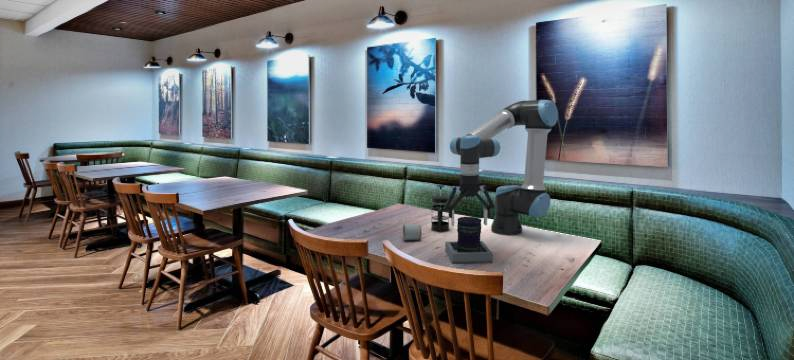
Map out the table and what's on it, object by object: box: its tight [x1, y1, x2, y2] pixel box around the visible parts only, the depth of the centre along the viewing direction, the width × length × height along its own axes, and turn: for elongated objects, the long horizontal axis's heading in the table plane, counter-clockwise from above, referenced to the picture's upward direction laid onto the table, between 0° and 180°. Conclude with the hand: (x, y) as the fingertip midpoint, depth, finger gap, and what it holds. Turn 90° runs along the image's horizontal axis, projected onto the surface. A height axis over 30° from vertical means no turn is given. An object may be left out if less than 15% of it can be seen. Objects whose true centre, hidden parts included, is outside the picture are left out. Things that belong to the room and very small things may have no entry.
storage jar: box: [456, 216, 482, 253], centre depth 171 cm, size 10×10×15 cm
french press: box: [430, 184, 450, 233], centre depth 211 cm, size 12×9×23 cm
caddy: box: [444, 240, 493, 264], centre depth 172 cm, size 16×16×4 cm
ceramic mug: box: [402, 223, 422, 241], centre depth 197 cm, size 11×8×8 cm
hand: (469, 225), depth 171 cm, fingers open, 13 cm apart
